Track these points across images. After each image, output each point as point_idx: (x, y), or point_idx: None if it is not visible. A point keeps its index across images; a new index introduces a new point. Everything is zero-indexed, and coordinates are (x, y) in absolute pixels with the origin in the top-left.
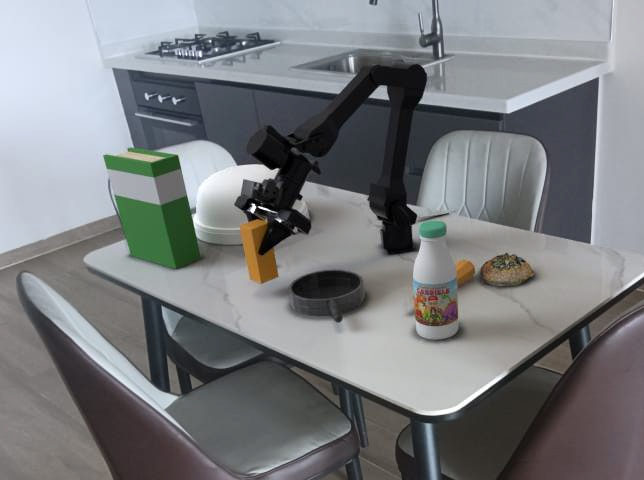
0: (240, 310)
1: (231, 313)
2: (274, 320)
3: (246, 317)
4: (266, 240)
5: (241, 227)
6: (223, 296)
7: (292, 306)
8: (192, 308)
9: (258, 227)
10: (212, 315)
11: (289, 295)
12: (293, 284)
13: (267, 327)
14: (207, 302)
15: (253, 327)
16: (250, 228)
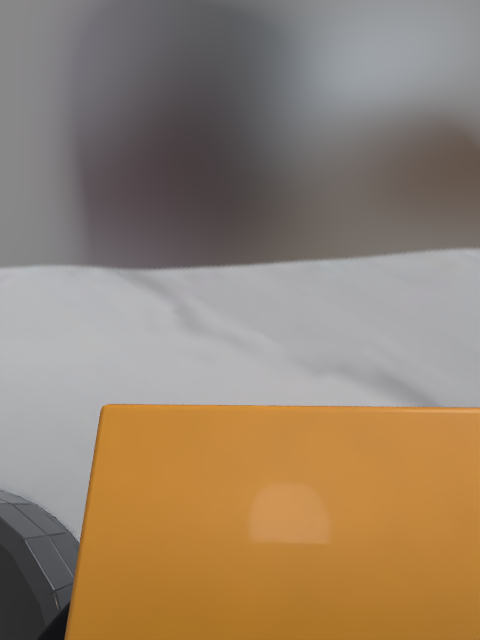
0: (240, 359)
1: (248, 322)
2: (44, 387)
3: (167, 337)
4: (55, 620)
5: (462, 412)
6: (433, 397)
7: (17, 499)
8: (415, 259)
9: (69, 627)
10: (295, 271)
11: (44, 533)
12: (43, 613)
13: (30, 335)
14: (425, 321)
15: (79, 306)
16: (153, 427)
